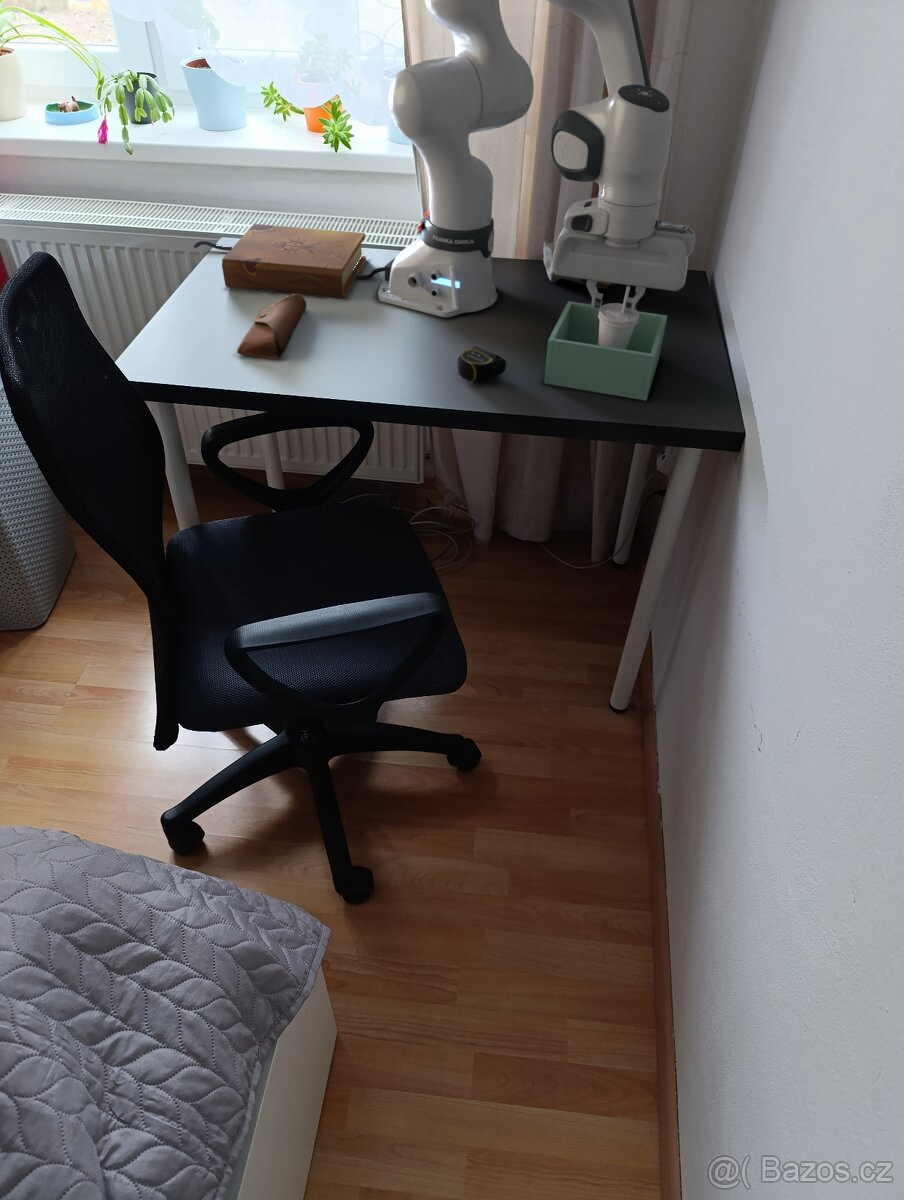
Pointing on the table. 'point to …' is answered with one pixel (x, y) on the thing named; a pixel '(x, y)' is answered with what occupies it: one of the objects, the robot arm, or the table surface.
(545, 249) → the ceramic sculpture
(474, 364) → the tape measure
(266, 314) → the sunglasses case
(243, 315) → the table surface
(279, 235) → the diary
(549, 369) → the green open storage box
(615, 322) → the smoothie
